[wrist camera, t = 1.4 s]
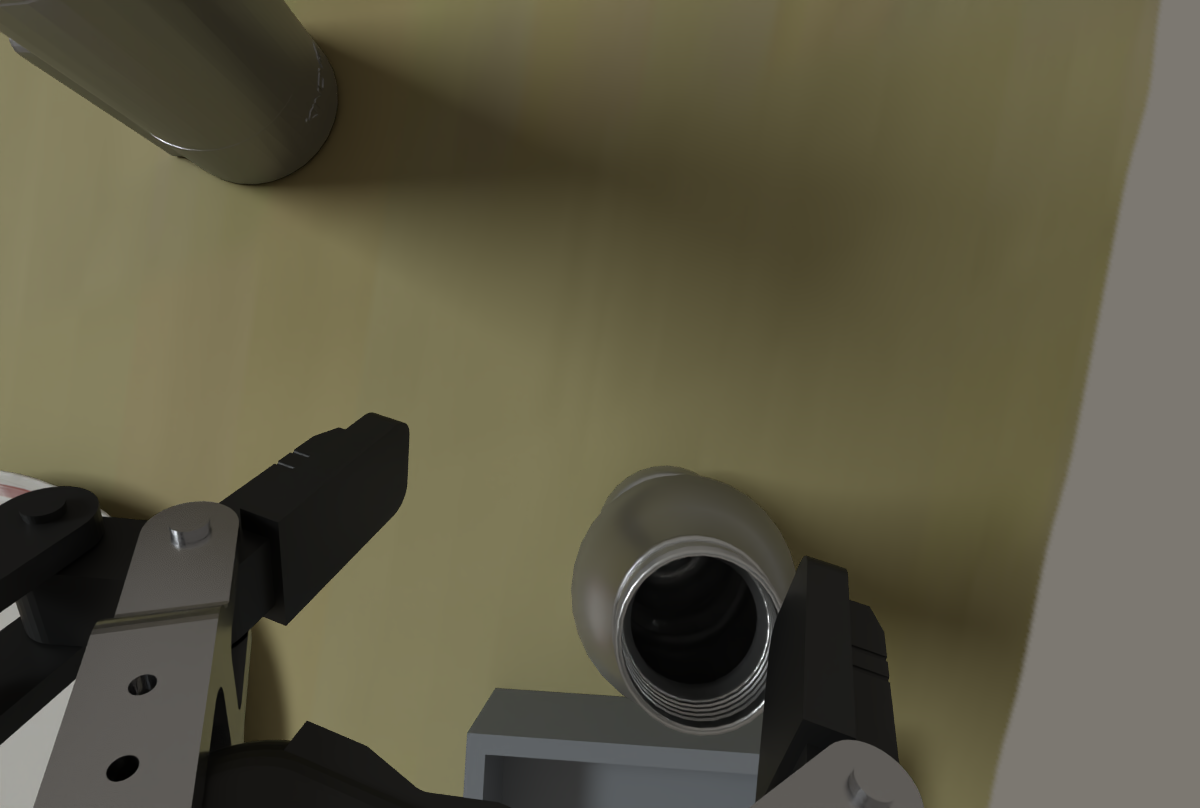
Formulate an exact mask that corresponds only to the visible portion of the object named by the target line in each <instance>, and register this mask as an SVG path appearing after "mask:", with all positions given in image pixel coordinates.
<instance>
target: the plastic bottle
mask: <svg viewBox="0 0 1200 808" xmlns="http://www.w3.org/2000/svg"><path fill="white" fill-rule="evenodd" d="M795 573H796V570H795V567H794V563H793V560H792V556H791V553H790V550H789V548H788V546H787V544H786V542H785V540H784V538H783V536H782V534H781V532H780V530H779V529H778V527H777V526H776V525H775V523H774V522H773V521H772V520H771V518H770V517H769V516H768V514H767V513H766V512H765V511H764V510H763V509H762V508H761V507H760V506H759V505H758V504H756V503H755V502H754V501H753V500H752V499H751V498H750V497H748V496H747V495H745V494H744V493H742V492H740V491H738V490H737V489H735V488H733V487H732V486H730V485H728V484H725V483H722V482H719V481H716V480H714V479H711V478H708V477H702V476H700V475H698V474H696V473H695V472H693V471H690V470H687V469H684V468H681V467H674V466H655V467H650V468H647V469H643V470H640V471H638V472H636V473H634V474H633V475H631V476H629V477H627V478H626V479H625V480H624V481H622V482H621V483H620V484H619V485H617V487H616V488H615V489H614V490H613V492H612V493H611V494H610V495H609V496H608V498H607V500H606V502H605V504H604V506H603V507H602V510H601V513H600V514H599V516H598V517H597V518H596V519H595V521H594V522H593V523H592V524H591V526H590V528H589V530H588V532H587V534H586V535H585V537H584V539H583V541H582V543H581V545H580V549H579V552H578V555H577V558H576V561H575V564H574V570H573V578H572V587H571V593H572V609H573V615H574V619H575V623H576V627H577V631H578V635H579V637H580V639H581V642H582V644H583V646H584V648H585V650H586V652H587V655H588V657H589V658H590V659H591V661H592V662H593V664H594V665H595V666H596V668H597V669H598V671H599V672H600V673H601V675H602V676H603V677H604V678H605V679H606V680H607V681H608V682H609V683H610V684H612V685H613V686H614V687H615V688H616V689H617V690H618V691H619V692H620V693H621V694H622V695H624V696H625V697H627V698H629V699H630V700H632V701H633V702H635V703H636V704H638V705H639V706H640V707H641V708H643V709H644V710H645V711H646V712H647V713H648V714H649V715H650V716H651V717H652V718H654V719H655V720H657V721H658V722H660V723H662V724H663V725H665V726H666V727H669V728H671V729H674V730H677V731H679V732H682V733H686V734H692V735H699V736H707V735H720V734H723V733H727V732H731V731H734V730H736V729H738V728H740V727H742V726H744V725H746V724H748V723H750V722H751V721H753V720H754V719H755V718H756V717H758V716H759V715H760V714H761V713H762V712H763V711H764V700H765V689H766V678H767V667H768V656H769V646H770V641H771V636H772V632H773V628H774V624H775V621H776V618H777V616H778V613H779V611H780V608H781V606H782V604H783V601H784V599H785V597H786V594H787V592H788V590H789V587H790V585H791V583H792V580H793V578H794V576H795Z"/></svg>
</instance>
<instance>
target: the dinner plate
mask: <svg viewBox="0 0 1200 808" xmlns="http://www.w3.org/2000/svg"><path fill="white" fill-rule="evenodd" d="M48 487H58V486H55V485H53V484H50V483H47V482H45V481H42V480H39V479H36V478H33V477H29V476H26V475H22V474H17V473H13V472H6V471H0V505H1V504H3V503H5V502H6V501H8V500H10V499H12V498H14V497H16V496H19V495H21V494H24V493H27V492H30V491H33V490H38V489H42V488H48ZM101 514H102V516H104V517H111V516H109V515H108V514H107V513H106V512H105V511H103V510H101ZM18 617H20V614H19V611H18V608H17V605H16V602H15V603H13V604H12V605H11V606H9V607H8V608H6V609H5V610H3V611H2V612H1V613H0V631H1V630H2V629H3V628H5V627H6V626H7V625H9V624H10V623H12V622H13V621H14V620H16V619H17V618H18ZM75 680H76V679H75ZM75 680H74V681H73V682H72V683H71V684H70V685H69V686H67V687H66V688H65V689H64V690H63V691H62V692H61V693H59V694H58V695H57V696H56V697H55V698H54V699H53V700H51V701H50V702H49V703H48V704H47V705H46V706H45V707H43V708H42V709H41V710H40V711H39V712H38V713H37V714H35V715H34V716H33V717H32V718H31V719H30V720H29V721H27V722H26V723H25V724H24V725H23V726H22V727H21V728H19V729H18V730H17V731H16V732H15V733H14V734H13V735H11V736H10V737H9V738H8V739H7V740H6V741H5V742H3V743H2V744H1V745H0V808H33V806H34V803H35V800H36V797H37V794H38V791H39V788H40V785H41V782H42V779H43V776H44V773H45V770H46V767H47V764H48V761H49V758H50V755H51V752H52V749H53V746H54V743H55V740H56V737H57V734H58V731H59V728H60V725H61V722H62V719H63V716H64V713H65V710H66V707H67V704H68V701H69V698H70V695H71V692H72V689H73V686H74V683H75Z"/></svg>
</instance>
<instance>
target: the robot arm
mask: <svg viewBox="0 0 1200 808" xmlns="http://www.w3.org/2000/svg"><path fill="white" fill-rule="evenodd" d="M0 32H2V33H3V34H5V35H6V36H7V37H9V41H10V43H11V46H12V47H13V49H14V50H15V51H16V52H17V53H18V54H19V55H20V56H22V57H23V58H25V59H26V60H28V61H29V62H31V63H32V64H34V65H35V66H37V67H38V68H40V69H41V70H43V71H44V72H46V73H47V74H49V75H50V76H52V77H53V78H55V79H56V80H58V81H59V82H61V83H63V84H64V85H66V86H67V87H69V88H70V89H72V90H73V91H75V92H76V93H78V94H79V95H81V96H82V97H84V98H85V99H87V100H88V101H90V102H91V103H93V104H94V105H96V106H97V107H99V108H100V109H102V110H103V111H105V112H107V113H108V114H110V115H111V116H113V117H114V118H116V119H117V120H119V121H120V122H122V123H123V124H125V125H126V126H128V127H129V128H131V129H132V130H134V131H135V132H137V133H138V134H140V135H141V136H143V137H144V138H146V139H147V140H149V141H151V142H152V143H154V144H155V145H157V146H158V147H160V148H161V149H163V150H164V151H166V152H167V153H169V154H170V155H172V156H184V157H186V158H187V159H189V160H190V161H191V162H193V163H194V164H196V165H197V166H199V167H200V168H202V169H203V170H205V171H206V172H208V173H210V174H212V175H214V176H216V177H218V178H220V179H222V180H226V181H230V182H234V183H238V184H260V183H265V182H271V181H275V180H277V179H280V178H282V177H285V176H287V175H290V174H291V173H293V172H294V171H296V170H297V169H299V168H300V167H302V166H303V165H305V164H306V163H307V162H308V161H309V160H310V159H311V158H312V157H313V156H314V155H315V154H316V153H317V152H318V151H319V149H320V148H321V146H322V145H323V143H324V142H325V140H326V139H327V137H328V135H329V133H330V130H331V128H332V126H333V123H334V121H335V116H336V110H337V105H338V95H337V84H336V80H335V76H334V72H333V69H332V67H331V65H330V63H329V61H328V59H327V57H326V55H325V54H324V53H323V52H322V50H321V49H320V48H319V46H318V45H317V44H316V42H315V41H314V40H313V38H312V37H311V36H310V35H309V33H308V32H307V31H306V29H305V28H304V27H303V25H302V24H301V23H300V21H299V20H298V19H297V18H296V16H295V15H294V14H293V12H292V11H291V10H290V8H289V7H288V5H287V4H286V3H285V1H284V0H0ZM408 455H409V428H408V426H407V424H406V423H403V422H400V421H397V420H394V419H391V418H388V417H385V416H382V415H379V414H376V413H367V414H366V415H364V416H363V417H362V418H360V419H359V420H358V421H356V422H355V423H354V424H352V425H351V426H349V427H348V428H347V429H342V428H336V429H333V430H330V431H327V432H324V433H321V434H319V435H316V436H313V437H312V438H310V439H309V440H307V441H306V442H305V443H303V444H302V445H300V446H299V447H298V448H296V449H295V450H294V452H293V453H289V454H288V455H286V456H285V457H283V458H282V459H281V460H279V461H278V464H277V465H276V464H273V465H272V466H271V467H269V468H268V469H266V470H265V471H264V472H262V473H261V474H259V475H258V476H257V477H255V478H254V479H252V480H251V481H249V482H248V483H247V484H245V485H244V486H242V487H241V488H240V489H238V490H237V491H235V492H234V493H233V494H231V495H230V496H228V497H227V498H225V499H224V500H223V501H221V502H220V503H214V502H205V501H203V502H189V503H184V504H179V505H176V506H173V507H170V508H168V509H165V510H163V511H161V512H159V513H158V514H156V515H155V516H153V517H152V518H151V519H149V520H148V521H146V520H135V519H125V518H114V517H104V516H102V514H101V509H100V505H99V501H98V499H97V497H96V496H95V495H94V494H93V493H92V492H90V491H88V490H86V489H82V488H78V487H71V486H58V487H48V488H42V489H38V490H33V491H30V492H27V493H24V494H21V495H19V496H16V497H14V498H12V499H10V500H8V501H6V502H5V503H3V504H1V505H0V613H1V612H2V611H3V610H5V609H6V608H8V607H9V606H11V605H12V604H13V603H15V602H16V605H17V608H18V611H19V614H20V617H18V618H17V619H16V620H14V621H13V622H12V623H10V624H9V625H7V626H6V627H5V628H3V629H2V630H1V631H0V745H1V744H2V743H3V742H5V741H6V740H7V739H8V738H9V737H10V736H11V735H13V734H14V733H15V732H16V731H17V730H18V729H19V728H21V727H22V726H23V725H24V724H25V723H26V722H27V721H29V720H30V719H31V718H32V717H33V716H34V715H35V714H37V713H38V712H39V711H40V710H41V709H42V708H43V707H45V706H46V705H47V704H48V703H49V702H50V701H51V700H53V699H54V698H55V697H56V696H57V695H58V694H59V693H61V692H62V691H63V690H64V689H65V688H66V687H67V686H69V685H70V684H71V683H72V682H73V681H74V680H75V679H76V680H75V683H74V686H73V689H72V692H71V695H70V698H69V701H68V704H67V707H66V710H65V713H64V716H63V719H62V722H61V725H60V728H59V731H58V734H57V737H56V740H55V743H54V746H53V749H52V752H51V755H50V758H49V761H48V764H47V767H46V770H45V773H44V776H43V779H42V782H41V785H40V788H39V791H38V794H37V797H36V800H35V803H34V806H33V808H511V807H509V806H506V805H504V804H502V803H499V802H494V801H487V800H480V799H472V798H465V797H457V796H450V795H443V794H435V793H428V792H424V791H422V790H419V789H418V788H417V787H415V786H414V785H413V784H412V783H410V782H409V781H408V780H407V779H406V778H404V777H403V776H402V775H401V774H400V773H398V772H397V771H396V770H395V769H394V768H392V767H391V766H390V765H389V764H388V763H386V762H385V761H384V760H383V759H382V758H380V757H379V756H378V755H377V754H376V753H375V752H373V751H372V750H371V749H370V748H369V747H367V746H365V745H363V744H361V743H358V742H356V741H354V740H351V739H349V738H347V737H344V736H342V735H340V734H337V733H335V732H332V731H330V730H328V729H325V728H323V727H321V726H318V725H316V724H314V723H311V722H309V721H306V723H305V724H304V725H303V726H302V728H301V729H300V730H299V731H298V733H297V734H296V735H295V736H294V738H293V739H292V740H291V741H289V740H262V741H252V742H246V743H244V721H245V709H246V698H247V687H248V675H249V664H250V653H251V641H252V634H251V628H252V627H253V626H254V625H255V624H256V623H257V622H258V621H259V620H260V619H261V618H262V617H265V618H268V619H270V620H273V621H275V622H278V623H280V624H283V625H285V626H286V625H287V624H288V623H289V622H290V621H291V620H292V619H293V618H294V617H295V616H296V615H297V614H298V613H299V612H300V611H301V610H302V609H303V608H304V607H305V606H306V605H307V604H308V603H309V602H310V601H311V600H312V599H313V598H314V597H315V596H316V595H317V594H318V593H319V591H320V590H321V589H322V588H323V587H324V586H325V585H326V584H327V583H328V582H329V581H330V580H331V579H332V578H333V577H334V576H335V575H336V574H337V573H338V572H339V571H340V570H341V569H342V568H343V567H344V566H345V565H346V564H347V563H348V562H349V561H350V560H351V559H352V558H353V557H354V556H355V555H356V554H357V553H358V551H359V550H360V549H361V548H362V547H363V546H364V545H365V544H366V543H367V542H368V541H369V540H370V539H371V538H372V537H373V536H374V535H375V534H376V533H377V532H378V531H379V530H380V529H381V528H382V527H383V526H384V525H385V524H386V523H387V522H388V521H389V520H390V519H391V518H392V517H393V516H394V514H395V513H396V512H397V511H398V509H399V507H400V506H401V504H402V502H403V499H404V496H405V493H406V489H407V478H408ZM886 658H887V653H886V644H885V636H884V631H883V629H882V628H881V626H880V624H879V622H878V621H877V619H876V617H875V615H874V613H873V612H872V610H871V608H870V607H869V606H866V605H863V604H860V603H857V602H854V601H851V600H849V588H848V572H847V570H846V569H845V568H842V567H839V566H836V565H833V564H830V563H827V562H824V561H821V560H818V559H815V558H812V557H809V556H804V557H803V558H802V560H801V562H800V564H799V566H798V569H797V571H796V573H795V576H794V578H793V580H792V583H791V585H790V587H789V590H788V592H787V594H786V597H785V599H784V601H783V604H782V606H781V608H780V611H779V613H778V616H777V618H776V621H775V624H774V628H773V632H772V636H771V641H770V646H769V656H768V667H767V678H766V689H765V700H764V711H763V722H762V733H761V744H760V754H759V765H758V776H757V787H756V798H755V803H754V804H753V805H752V806H750V807H749V808H924V806H923V802H922V798H921V796H920V793H919V791H918V789H917V787H916V785H915V783H914V782H913V780H912V779H911V777H910V776H909V775H908V773H907V772H906V771H905V770H904V769H903V767H902V766H901V765H900V764H899V759H898V751H897V742H896V733H895V724H894V715H893V706H892V698H891V689H890V683H889V682H888V679H889V671H888V662H887V661H886Z"/></svg>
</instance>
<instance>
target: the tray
mask: <svg viewBox="0 0 1200 808" xmlns="http://www.w3.org/2000/svg"><path fill="white" fill-rule="evenodd" d="M762 722H763V712H762V713H761V714H760V715H759V716H758V717H756V718H755V719H754V720H753V721H751V722H750V723H748V724H746V725H744V726H742V727H740V728H738V729H736V730H734V731H731V732H727V733H723V734H720V735H707V736H699V735H692V734H686V733H682V732H679V731H677V730H674V729H671V728H669V727H666V726H665V725H663V724H662V723H660V722H658V721H657V720H655V719H654V718H652V717H651V716H650V715H649V714H648V713H647V712H646V711H645V710H644V709H643V708H641V707H640V706H639V705H638V704H636V703H635V702H633V701H632V700H630V699H629V698H627V697H619V696H604V695H589V694H575V693H560V692H545V691H530V690H515V689H501V688H495V690H494V691H493V693H492V695H491V696H490V698H489V699H488V701H487V702H486V704H485V706H484V707H483V709H482V710H481V712H480V714H479V715H478V717H477V718H476V720H475V722H474V723H473V725H472V726H471V728H470V729H469V731H468V733H467V746H466V763H465V779H464V795H463V797H465V798H472V799H480V800H487V801H494V802H499V803H502V804H504V805H506V806H509V807H511V808H749V807H750V806H752V805H753V804H754V803H755V798H756V787H757V776H758V765H759V754H760V744H761V733H762Z"/></svg>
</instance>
